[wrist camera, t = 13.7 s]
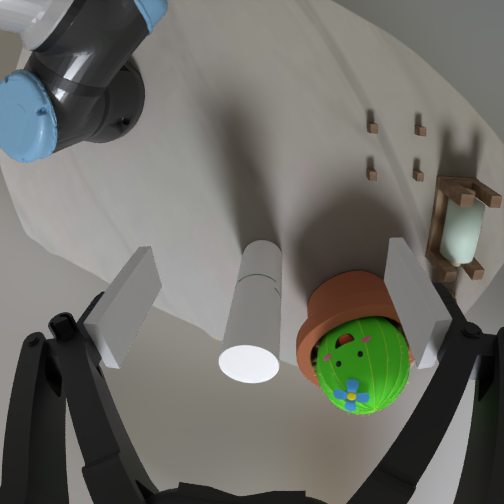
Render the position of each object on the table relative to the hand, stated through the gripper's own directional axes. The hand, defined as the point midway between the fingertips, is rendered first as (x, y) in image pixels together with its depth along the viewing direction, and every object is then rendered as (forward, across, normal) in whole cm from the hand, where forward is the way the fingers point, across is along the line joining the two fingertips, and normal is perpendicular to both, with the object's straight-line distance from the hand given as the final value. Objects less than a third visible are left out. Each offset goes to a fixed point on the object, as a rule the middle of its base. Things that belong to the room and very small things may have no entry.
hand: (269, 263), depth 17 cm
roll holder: (+35, +32, -13) cm, 49 cm away
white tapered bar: (+35, -4, -20) cm, 40 cm away
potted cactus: (+35, +13, -32) cm, 49 cm away
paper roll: (+34, +32, -13) cm, 48 cm away
